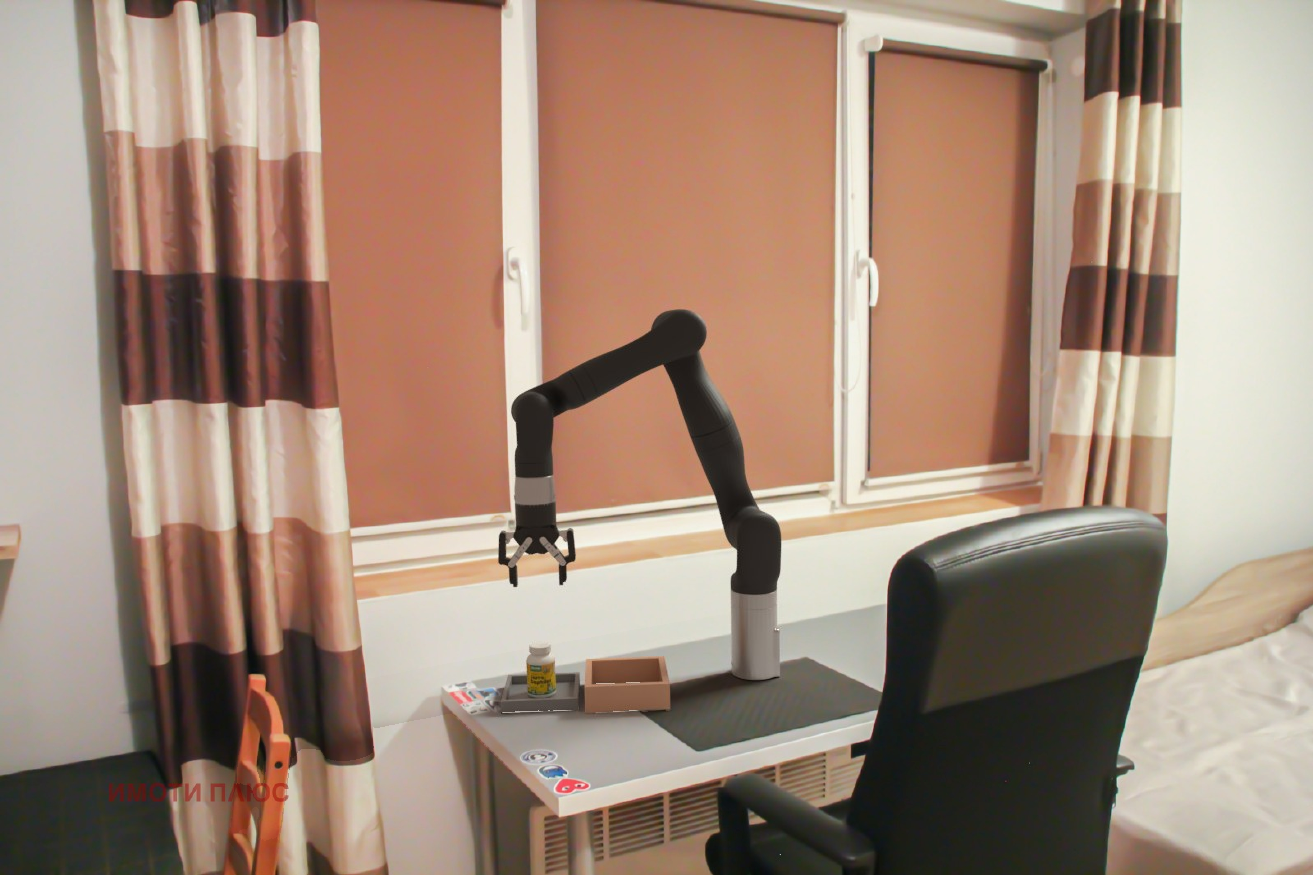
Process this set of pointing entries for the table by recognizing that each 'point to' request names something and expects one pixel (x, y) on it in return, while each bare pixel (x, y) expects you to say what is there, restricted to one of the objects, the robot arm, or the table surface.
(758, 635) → the robot arm
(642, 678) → the box
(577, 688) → the tray
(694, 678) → the table surface
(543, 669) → the supplement bottle
